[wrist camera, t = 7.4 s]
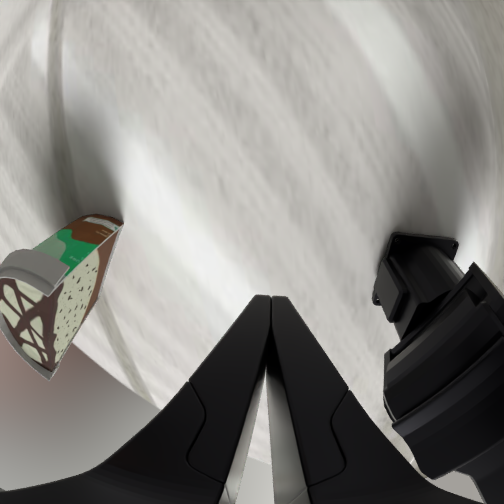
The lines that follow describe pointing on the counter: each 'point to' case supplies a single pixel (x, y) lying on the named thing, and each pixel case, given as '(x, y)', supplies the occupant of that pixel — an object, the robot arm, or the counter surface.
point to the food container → (55, 289)
